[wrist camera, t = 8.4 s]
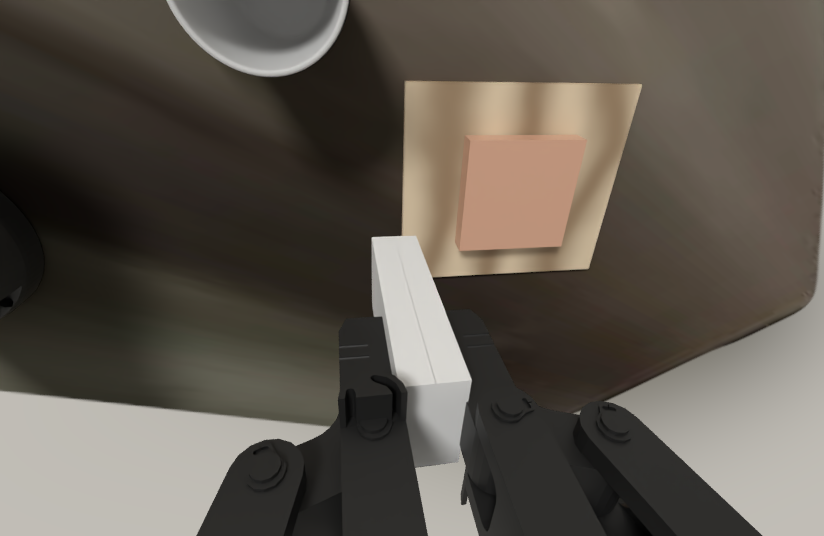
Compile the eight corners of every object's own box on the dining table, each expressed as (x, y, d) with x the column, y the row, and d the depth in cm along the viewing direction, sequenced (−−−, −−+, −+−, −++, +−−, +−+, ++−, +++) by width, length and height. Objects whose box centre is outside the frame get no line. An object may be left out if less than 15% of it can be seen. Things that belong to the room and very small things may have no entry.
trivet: (400, 275, 41) (401, 278, 41) (404, 80, 32) (405, 81, 31) (585, 265, 44) (588, 268, 44) (637, 83, 35) (642, 84, 34)
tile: (459, 250, 38) (561, 246, 39) (470, 140, 33) (587, 139, 34) (454, 241, 39) (552, 236, 41) (464, 134, 34) (575, 134, 36)
